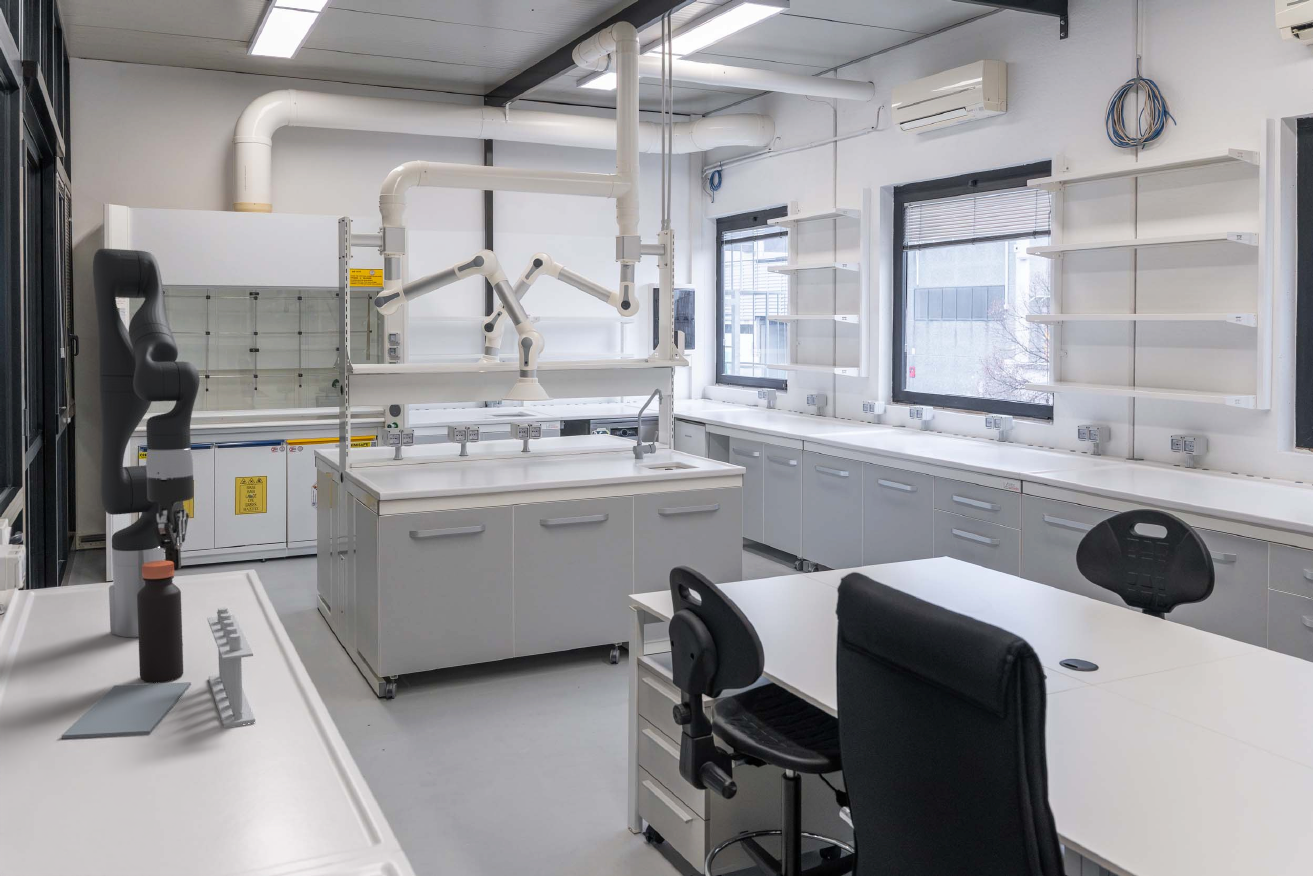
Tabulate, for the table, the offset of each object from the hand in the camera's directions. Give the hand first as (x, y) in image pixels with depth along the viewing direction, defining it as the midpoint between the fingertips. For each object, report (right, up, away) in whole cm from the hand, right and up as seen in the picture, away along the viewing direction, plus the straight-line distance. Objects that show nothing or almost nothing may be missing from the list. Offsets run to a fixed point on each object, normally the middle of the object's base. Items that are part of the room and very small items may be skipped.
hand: (173, 569), depth 182 cm
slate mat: (+4, -19, -22) cm, 30 cm away
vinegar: (+1, -18, -7) cm, 19 cm away
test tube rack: (+18, -19, -17) cm, 31 cm away
